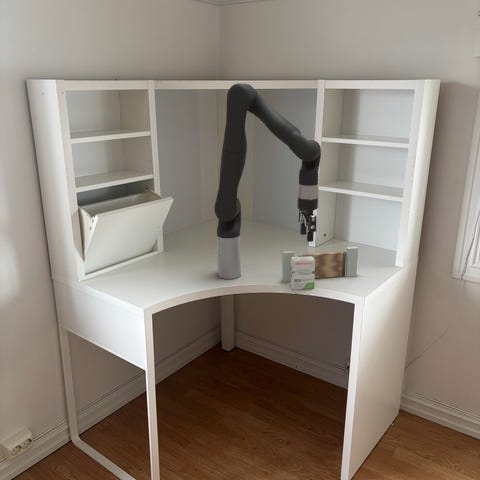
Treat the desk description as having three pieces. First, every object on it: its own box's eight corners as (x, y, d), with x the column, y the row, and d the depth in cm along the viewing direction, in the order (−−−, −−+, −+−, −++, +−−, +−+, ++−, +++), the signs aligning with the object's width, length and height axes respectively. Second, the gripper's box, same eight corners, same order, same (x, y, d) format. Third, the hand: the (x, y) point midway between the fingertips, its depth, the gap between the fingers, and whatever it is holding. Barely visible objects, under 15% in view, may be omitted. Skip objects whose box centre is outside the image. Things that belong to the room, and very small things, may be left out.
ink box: (312, 283, 192) (312, 255, 188) (314, 289, 187) (315, 260, 183) (290, 284, 191) (290, 256, 188) (292, 289, 187) (292, 260, 183)
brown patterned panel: (298, 279, 195) (298, 256, 192) (296, 277, 197) (297, 253, 194) (345, 276, 198) (346, 252, 194) (343, 273, 200) (344, 250, 197)
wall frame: (283, 281, 194) (283, 253, 190) (282, 279, 196) (282, 251, 192) (356, 276, 198) (358, 248, 194) (354, 274, 200) (356, 246, 196)
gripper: (292, 192, 186) (291, 233, 191) (303, 201, 173) (302, 244, 178) (311, 191, 188) (310, 231, 193) (324, 199, 174) (322, 243, 179)
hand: (306, 237), depth 185 cm, fingers open, 8 cm apart
